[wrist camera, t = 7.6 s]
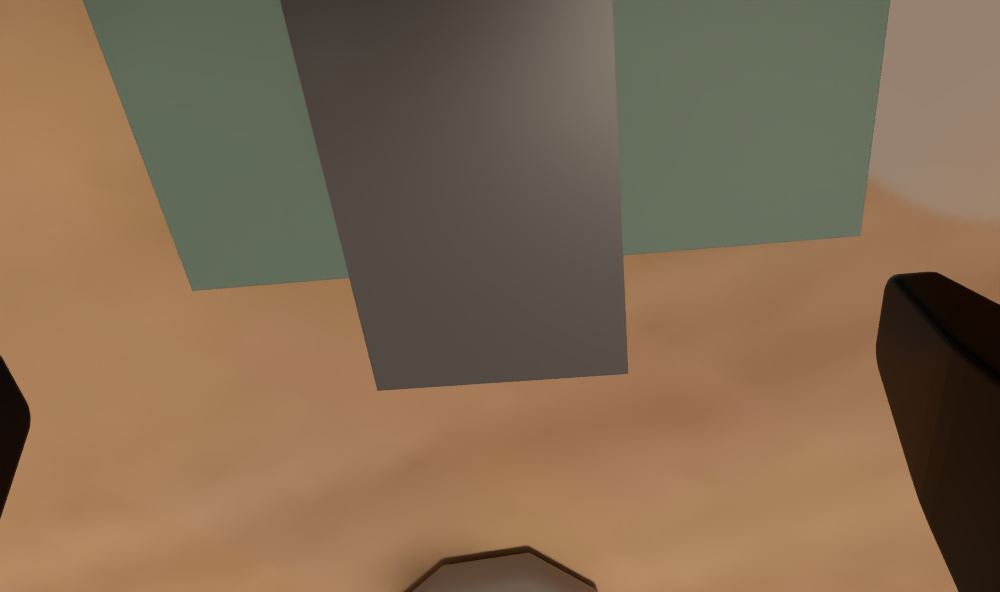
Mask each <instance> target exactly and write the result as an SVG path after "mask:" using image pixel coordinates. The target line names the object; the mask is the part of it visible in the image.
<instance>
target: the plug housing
mask: <svg viewBox="0 0 1000 592" xmlns="http://www.w3.org/2000/svg"><path fill="white" fill-rule="evenodd" d="M280 2H281V6H282V10H283V14H284V18H285V22H286V26H287V30H288V34H289V38H290V42H291V46H292V50H293V54H294V58H295V62H296V66H297V70H298V74H299V78H300V82H301V86H302V90H303V94H304V98H305V102H306V106H307V110H308V114H309V118H310V122H311V126H312V130H313V134H314V138H315V142H316V146H317V150H318V154H319V158H320V162H321V166H322V170H323V174H324V178H325V182H326V186H327V190H328V194H329V198H330V202H331V206H332V210H333V214H334V218H335V222H336V226H337V230H338V234H339V238H340V242H341V246H342V250H343V254H344V258H345V262H346V266H347V270H348V274H349V278H350V282H351V286H352V290H353V294H354V298H355V302H356V306H357V310H358V314H359V318H360V322H361V326H362V330H363V334H364V338H365V342H366V346H367V350H368V354H369V358H370V362H371V366H372V370H373V374H374V378H375V382H376V386H377V390H378V391H379V390H394V389H409V388H424V387H439V386H454V385H469V384H483V383H498V382H513V381H528V380H543V379H558V378H572V377H587V376H602V375H617V374H628V360H627V337H626V313H625V289H624V266H623V242H622V218H621V194H620V171H619V147H618V123H617V100H616V76H615V52H614V29H613V5H612V0H280Z"/></svg>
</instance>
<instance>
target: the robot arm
mask: <svg viewBox="0 0 1000 592" xmlns="http://www.w3.org/2000/svg"><path fill="white" fill-rule="evenodd" d="M876 358H877V365H878V369H879V372H880V376H881V379H882V382H883V386H884V389H885V392H886V395H887V399H888V402H889V405H890V409H891V412H892V415H893V419H894V422H895V425H896V429H897V432H898V435H899V438H900V442H901V445H902V448H903V452H904V455H905V458H906V462H907V465H908V468H909V472H910V475H911V478H912V481H913V484H914V487H915V490H916V493H917V496H918V499H919V502H920V505H921V507H922V510H923V512H924V514H925V517H926V519H927V522H928V524H929V526H930V529H931V531H932V533H933V535H934V538H935V540H936V542H937V544H938V547H939V549H940V551H941V553H942V556H943V558H944V560H945V562H946V565H947V567H948V569H949V571H950V574H951V576H952V578H953V580H954V583H955V585H956V587H957V589H958V592H1000V305H999V304H997V303H995V302H993V301H991V300H989V299H988V298H986V297H984V296H982V295H980V294H978V293H976V292H974V291H972V290H970V289H968V288H966V287H964V286H962V285H960V284H959V283H957V282H955V281H953V280H951V279H949V278H947V277H945V276H943V275H941V274H939V273H936V272H919V273H908V274H896V275H893V276H892V277H891V278H890V279H889V280H888V281H887V284H886V286H885V290H884V295H883V302H882V308H881V315H880V321H879V328H878V335H877V341H876ZM30 420H31V419H30V410H29V406H28V404H27V402H26V400H25V398H24V396H23V395H22V393H21V391H20V389H19V387H18V386H17V384H16V382H15V380H14V378H13V376H12V375H11V373H10V371H9V369H8V367H7V366H6V364H5V362H4V360H3V358H2V357H1V356H0V518H1V515H2V512H3V509H4V506H5V503H6V500H7V497H8V494H9V490H10V487H11V484H12V481H13V478H14V475H15V472H16V469H17V466H18V463H19V460H20V457H21V454H22V451H23V447H24V444H25V441H26V438H27V435H28V432H29V428H30Z"/></svg>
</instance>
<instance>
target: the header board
mask: <svg viewBox="0 0 1000 592" xmlns="http://www.w3.org/2000/svg"><path fill="white" fill-rule="evenodd" d="M83 2H84V5H85V7H86V10H87V13H88V15H89V18H90V21H91V23H92V26H93V29H94V31H95V34H96V36H97V39H98V42H99V44H100V47H101V50H102V52H103V55H104V58H105V60H106V63H107V66H108V68H109V71H110V74H111V76H112V79H113V82H114V84H115V87H116V90H117V92H118V95H119V97H120V100H121V103H122V105H123V108H124V111H125V113H126V116H127V119H128V121H129V124H130V127H131V129H132V132H133V135H134V137H135V140H136V143H137V145H138V148H139V151H140V153H141V156H142V158H143V161H144V164H145V166H146V169H147V172H148V174H149V177H150V180H151V182H152V185H153V188H154V190H155V193H156V196H157V198H158V201H159V204H160V206H161V209H162V212H163V214H164V217H165V219H166V222H167V225H168V227H169V230H170V233H171V235H172V238H173V241H174V243H175V246H176V249H177V251H178V254H179V257H180V259H181V262H182V265H183V267H184V270H185V273H186V275H187V278H188V280H189V283H190V286H191V288H192V291H197V290H209V289H221V288H233V287H245V286H257V285H270V284H282V283H294V282H306V281H318V280H330V279H342V278H349V274H348V270H347V266H346V262H345V258H344V254H343V250H342V246H341V242H340V238H339V234H338V230H337V226H336V222H335V218H334V214H333V210H332V206H331V202H330V198H329V194H328V190H327V186H326V182H325V178H324V174H323V170H322V166H321V162H320V158H319V154H318V150H317V146H316V142H315V138H314V134H313V130H312V126H311V122H310V118H309V114H308V110H307V106H306V102H305V98H304V94H303V90H302V86H301V82H300V78H299V74H298V70H297V66H296V62H295V58H294V54H293V50H292V46H291V42H290V38H289V34H288V30H287V26H286V22H285V18H284V14H283V10H282V6H281V2H280V0H83ZM612 5H613V29H614V52H615V76H616V100H617V123H618V147H619V171H620V194H621V218H622V242H623V255H634V254H646V253H658V252H670V251H682V250H694V249H707V248H719V247H731V246H743V245H755V244H767V243H779V242H792V241H804V240H816V239H828V238H840V237H852V236H860V233H861V225H862V217H863V209H864V202H865V194H866V186H867V178H868V170H869V162H870V155H871V146H872V139H873V131H874V123H875V116H876V108H877V100H878V92H879V84H880V76H881V68H882V60H883V53H884V45H885V37H886V29H887V22H888V13H889V6H890V0H612Z"/></svg>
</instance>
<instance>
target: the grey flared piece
mask: <svg viewBox="0 0 1000 592" xmlns="http://www.w3.org/2000/svg"><path fill="white" fill-rule="evenodd" d="M412 592H597V590H596V589H594V588H593V587H591V586H589V585H587V584H585V583H583V582H582V581H580V580H578V579H576V578H574V577H573V576H571V575H569V574H567V573H565V572H563V571H562V570H560V569H558V568H556V567H554V566H553V565H551V564H549V563H547V562H545V561H544V560H542V559H540V558H538V557H536V556H534V555H533V554H531V553H529V552H528V553H522V554H515V555H509V556H502V557H495V558H489V559H482V560H475V561H469V562H462V563H456V564H449V565H443V566H442V567H440V568H439V569H438V570H437V571H436V572H435V573H433V574H432V575H431V576H430V577H429V578H427V579H426V580H425V581H424V582H423V583H421V584H420V585H419V586H418V587H417V588H416V589H414V590H413V591H412Z"/></svg>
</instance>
